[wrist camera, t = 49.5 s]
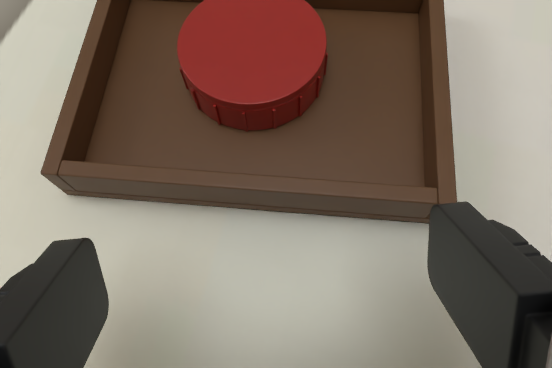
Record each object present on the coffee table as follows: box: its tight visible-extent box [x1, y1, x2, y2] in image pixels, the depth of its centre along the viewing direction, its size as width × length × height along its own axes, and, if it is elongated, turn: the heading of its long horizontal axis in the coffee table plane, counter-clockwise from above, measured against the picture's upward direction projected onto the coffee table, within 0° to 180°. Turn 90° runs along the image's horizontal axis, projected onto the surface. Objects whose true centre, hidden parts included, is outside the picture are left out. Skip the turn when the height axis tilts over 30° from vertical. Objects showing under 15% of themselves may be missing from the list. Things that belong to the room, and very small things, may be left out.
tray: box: [41, 0, 457, 223], centre depth 18 cm, size 14×10×2 cm
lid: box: [177, 0, 328, 131], centre depth 17 cm, size 6×6×2 cm
